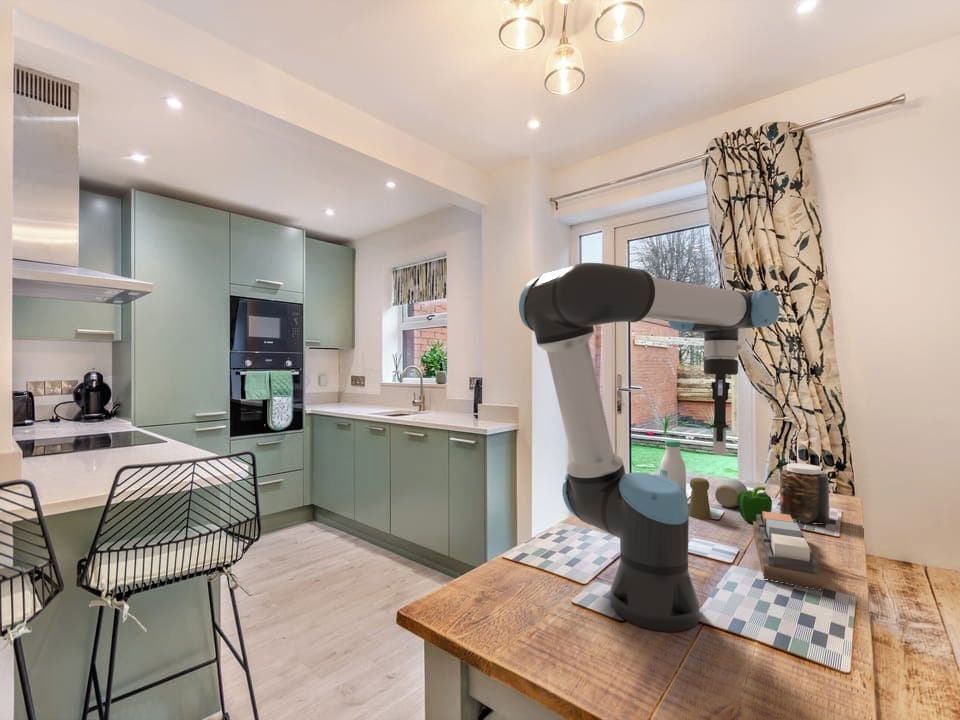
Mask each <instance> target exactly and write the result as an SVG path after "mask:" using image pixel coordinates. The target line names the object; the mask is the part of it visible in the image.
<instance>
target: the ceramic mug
mask: <svg viewBox="0 0 960 720" xmlns="http://www.w3.org/2000/svg"><path fill="white" fill-rule="evenodd" d="M740 491H745V492H746V491H749V490H748V488H747V486H746V485H745V484H744V483H743V482H742V481H740V480H738V479H733V478H731V479H728V480H725V481H724V482H723V483H721V484H720V485H718V486H717V487H716V490H715V492H714V496H715V500H716V501H717V503H718V504H719V505H721V506H723V508H728V509H729V508H736V507H739V506H738V494H739V492H740Z"/></svg>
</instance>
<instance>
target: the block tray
mask: <svg viewBox="0 0 960 720" xmlns="http://www.w3.org/2000/svg"><path fill="white" fill-rule="evenodd" d="M792 520H793V522H794V523H797V525H798V527H799V529H800V530H801V528H800V526H799V524H798V522H796V520H795V519H792ZM752 533H753V537H754V543H755V546H756V550H757V556H758V559H759V564H760V568H761V572H762V576H764V577H763V580H764V579H768V580H773V581H778V582H783V583H788V584H793V585H797V586H796V587H798V586H801V587H800V588H803V587H808V588H807V589H809V588H814V589H821V590H824V591H825V576H824V573H823V572H822V569H821V568H820V566H819V563H818V560H817V559H816V557H815V555H814V553H813V551H812V550H811V548H810V561H803V560H797V559H791V558H785V557H779V556H774V554H773V551H772V548H771V539H770V538H768V535H767V531H766V524H763V522H762V515H759V514H757V521H753V523H752ZM801 538H805V535H804V534H803V532H801ZM805 540H806V538H805ZM806 542H807V544H808V546H809V543H808V541H807V540H806ZM809 547H810V546H809ZM793 585H792V586H793ZM814 589H813V590H814Z"/></svg>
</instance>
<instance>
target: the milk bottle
mask: <svg viewBox="0 0 960 720" xmlns="http://www.w3.org/2000/svg"><path fill="white" fill-rule="evenodd" d="M664 447H665V452H664V455H663V457H662V459H661V461H660V468H659V476H662V477H665V478H668V479H670V480H672V481H674V482H676V483H678V484H679V485H680V486H681V487H682V488H683V489H684V490H685V492H686V493H687V471H686V469H687V468H686V463H685V461H684V459H683V457H682V454H681V441H680V440H676V439H667V440H665V441H664Z"/></svg>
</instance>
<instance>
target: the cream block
mask: <svg viewBox="0 0 960 720" xmlns="http://www.w3.org/2000/svg"><path fill="white" fill-rule="evenodd" d="M805 539H806V537H804V538H799V537H792V536H786V535H779V534H772V533H771V548H772V551H773V554H774V556H779V557H785V558H791V559H797V560H803V561H810V549H811V548H810V546H808V545H809V543H808V541H807V540H805ZM806 541H807V542H806ZM807 543H808V544H807Z"/></svg>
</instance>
